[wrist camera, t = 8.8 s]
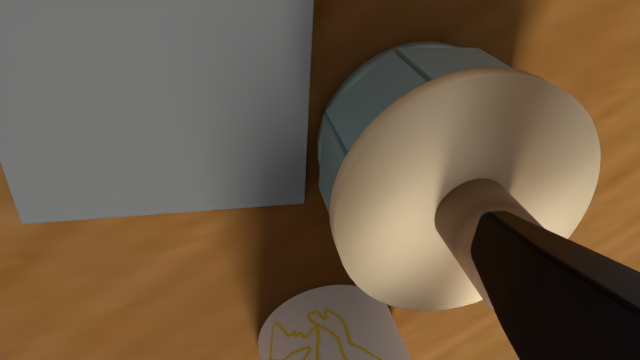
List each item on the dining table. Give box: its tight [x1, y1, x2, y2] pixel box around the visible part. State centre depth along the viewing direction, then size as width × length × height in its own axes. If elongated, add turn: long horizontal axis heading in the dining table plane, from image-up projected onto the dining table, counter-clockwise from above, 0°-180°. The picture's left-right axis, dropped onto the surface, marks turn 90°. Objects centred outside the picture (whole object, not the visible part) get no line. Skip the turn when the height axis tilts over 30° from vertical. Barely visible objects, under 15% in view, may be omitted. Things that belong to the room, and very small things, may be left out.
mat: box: [0, 0, 314, 224], centre depth 18 cm, size 12×12×1 cm
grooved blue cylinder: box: [316, 41, 513, 216], centre depth 20 cm, size 9×9×5 cm
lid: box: [330, 67, 601, 311], centre depth 16 cm, size 10×10×4 cm
